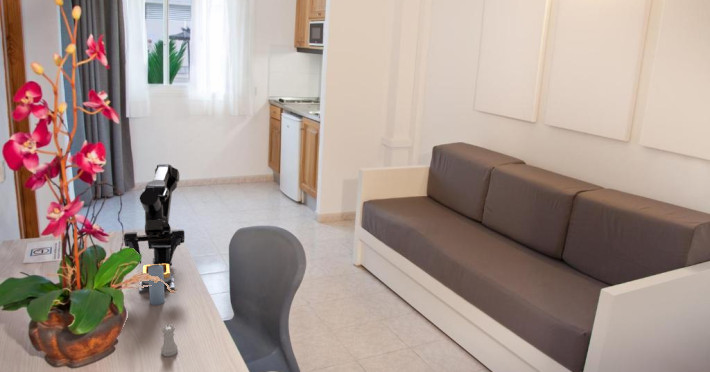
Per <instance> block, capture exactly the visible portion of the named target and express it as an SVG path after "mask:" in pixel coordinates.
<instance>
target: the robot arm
mask: <svg viewBox="0 0 710 372" xmlns="http://www.w3.org/2000/svg"><path fill="white" fill-rule="evenodd" d="M178 182H180V171H179V169H177V168H175V167H173V166H172V165H171V164H169V163H168V164H164V163H163V164H161V163H159V164H156V168H155V169H154V176H153V179H152V181H149V182H147V183H146V185H145V187H143V189H142V192H141V194H140V195H139V201H140V203H141V206H142V208H143V210H144V220H145V221H144V234H145V235H144V234H143V235H138V232H136V231H133V232H125V233H124V234H123V243H124V246H125V247H128V248H129V249H130V248H134V249H135V250H136V251H137V252H138V253H139V254H140V255H141V251H140V250H141V249H140V245H139V243H140V242H147V245H148V250H153V258H152V264H165V263H166V264H169V266H171V265H173V261H172V260H173V257H174V254H175V251H176V249H177V248H178V246H181V244H184V243H185V230H184V229H182V228H181V229H172V227H171V226H170V223H169V221H170V214H171V213H170V212H171V202H172V195H173V192H174V191H175V190H176V189H177V188H178ZM139 264H140V265H141V264H142V260H141V261H140V263H139Z"/></svg>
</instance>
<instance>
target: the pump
mask: <svg viewBox="0 0 710 372" xmlns="http://www.w3.org/2000/svg"><path fill="white" fill-rule="evenodd" d="M150 265H151V266H149V267H148V274H149V275H151V276H158V277H159V278H160V279H162V280H163V281H164V273H163V266H162V265H152V264H150ZM149 285H152V286H149V292H148V293H149V304H151V305H153V306H160V305H162V304H164V303H165V302H166V301H165V291H164V283H163V282H161V281H158V282H157V283H154V281H151V280H149Z"/></svg>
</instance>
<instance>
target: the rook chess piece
mask: <svg viewBox="0 0 710 372" xmlns="http://www.w3.org/2000/svg"><path fill="white" fill-rule="evenodd" d="M161 331H162V333H163V344H162V346H161V348H160V350H161V351H160V354H161V355H162V356H164V357H168V358H169V357H173V356H175V355H176V354H177V353H178V351H179V350H178V345H177V344H176V342H175V340H174V336H175V333H174V332H175V331H176V330H175V328H174V325H172V324H166V325H164V326H163V329H162V330H161Z"/></svg>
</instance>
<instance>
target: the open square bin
mask: <svg viewBox="0 0 710 372" xmlns="http://www.w3.org/2000/svg"><path fill="white" fill-rule="evenodd" d="M151 265H162V266H163V273H164V282H165V283H167V284H168V285H169V287H170V289H172V290H171V291H175V277H174V272H172V270H170V265H169V264H166V263H165V264H153V263H152V264H146V265H143V270H142V273H147V274H148V267H149V266H151ZM143 285H149V281H142V282H140V281H139V288H138V289H139V292H138V293H139V294H144V293H145V294H146V293H149V286H148V287H144V288H140V286H143ZM165 291H166V292H167V291H169V290H168V289H167V286H166V285H165V284H164V292H165Z"/></svg>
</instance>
